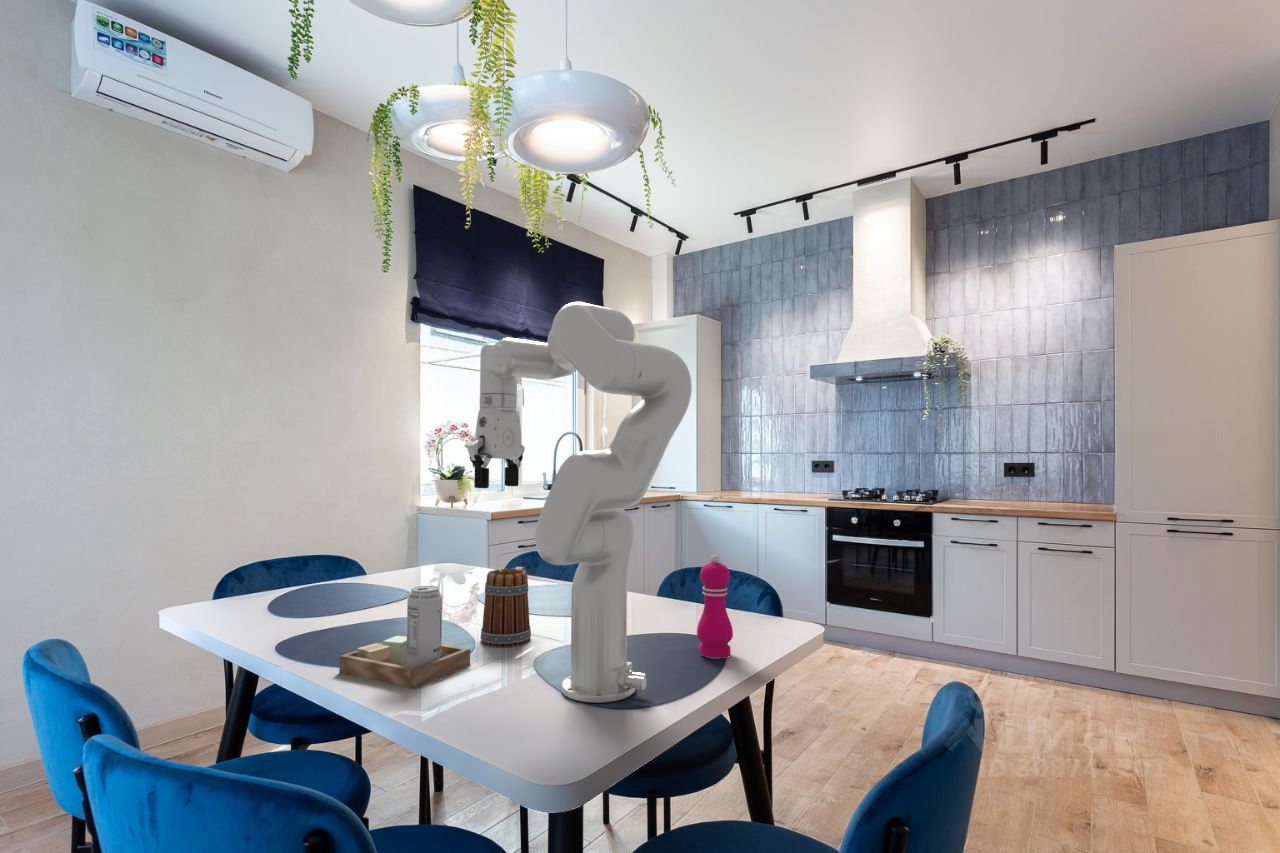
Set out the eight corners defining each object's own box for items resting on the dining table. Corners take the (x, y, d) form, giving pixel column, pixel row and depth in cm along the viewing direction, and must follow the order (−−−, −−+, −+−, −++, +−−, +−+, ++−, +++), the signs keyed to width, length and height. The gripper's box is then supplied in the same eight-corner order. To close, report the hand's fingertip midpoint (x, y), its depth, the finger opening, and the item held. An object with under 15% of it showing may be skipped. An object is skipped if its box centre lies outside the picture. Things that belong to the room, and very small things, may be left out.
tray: (470, 668, 124) (470, 648, 124) (414, 692, 111) (414, 670, 111) (398, 655, 132) (399, 636, 132) (339, 676, 119) (339, 655, 119)
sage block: (413, 658, 128) (414, 637, 128) (400, 664, 124) (401, 642, 124) (395, 656, 129) (396, 635, 129) (382, 662, 125) (383, 641, 125)
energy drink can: (442, 675, 118) (444, 590, 119) (406, 679, 116) (408, 592, 116) (439, 665, 124) (441, 584, 124) (405, 668, 121) (407, 586, 122)
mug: (519, 652, 134) (521, 577, 135) (471, 648, 136) (472, 575, 137) (546, 631, 150) (546, 565, 150) (502, 629, 152) (503, 563, 152)
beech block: (389, 668, 121) (390, 646, 122) (370, 674, 118) (370, 652, 118) (376, 664, 124) (376, 643, 124) (356, 670, 120) (357, 648, 121)
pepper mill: (715, 662, 128) (715, 558, 129) (689, 653, 134) (689, 554, 135) (740, 655, 133) (740, 555, 134) (714, 647, 138) (714, 551, 139)
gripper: (485, 400, 128) (484, 489, 127) (537, 406, 143) (536, 485, 142) (455, 401, 131) (453, 488, 130) (509, 407, 146) (508, 484, 146)
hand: (497, 487), depth 136 cm, fingers open, 9 cm apart
